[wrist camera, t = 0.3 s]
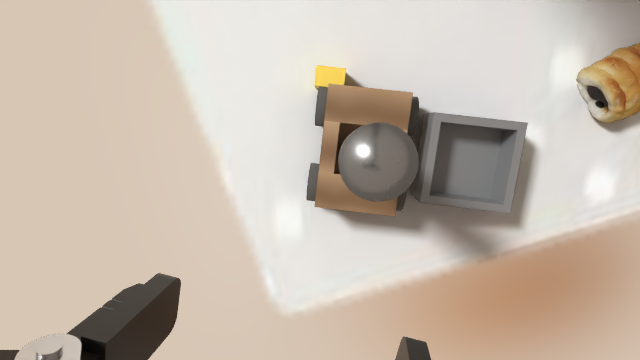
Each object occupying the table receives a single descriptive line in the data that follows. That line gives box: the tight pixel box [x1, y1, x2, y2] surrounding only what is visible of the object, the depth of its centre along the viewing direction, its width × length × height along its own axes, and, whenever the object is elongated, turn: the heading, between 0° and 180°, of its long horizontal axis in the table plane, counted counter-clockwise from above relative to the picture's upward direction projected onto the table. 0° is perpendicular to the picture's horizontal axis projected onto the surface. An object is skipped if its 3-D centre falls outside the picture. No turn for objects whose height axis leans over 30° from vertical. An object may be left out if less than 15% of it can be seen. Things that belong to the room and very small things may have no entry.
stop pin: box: [338, 122, 419, 202], centre depth 28 cm, size 5×5×15 cm
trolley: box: [307, 65, 419, 216], centre depth 36 cm, size 14×10×5 cm
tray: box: [412, 113, 528, 213], centre depth 36 cm, size 9×9×4 cm
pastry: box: [576, 43, 640, 123], centre depth 35 cm, size 9×7×4 cm
